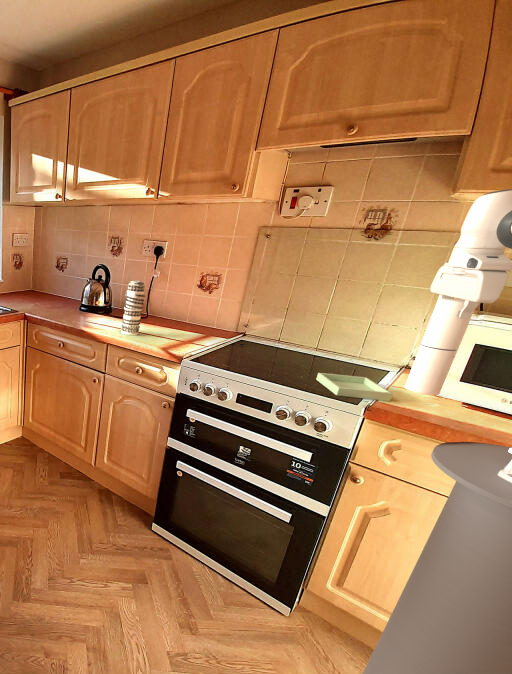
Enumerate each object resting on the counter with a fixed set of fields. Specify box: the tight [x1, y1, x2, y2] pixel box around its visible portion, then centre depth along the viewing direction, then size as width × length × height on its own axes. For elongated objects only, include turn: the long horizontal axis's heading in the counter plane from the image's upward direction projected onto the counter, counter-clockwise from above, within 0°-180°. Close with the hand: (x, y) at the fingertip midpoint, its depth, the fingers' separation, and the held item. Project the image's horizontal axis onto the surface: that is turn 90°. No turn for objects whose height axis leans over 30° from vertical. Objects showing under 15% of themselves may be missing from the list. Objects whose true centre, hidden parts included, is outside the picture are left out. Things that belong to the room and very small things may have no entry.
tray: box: [315, 372, 394, 402], centre depth 140 cm, size 16×15×3 cm
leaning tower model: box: [120, 279, 146, 336], centre depth 203 cm, size 9×9×25 cm
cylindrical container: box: [404, 298, 475, 396], centre depth 114 cm, size 7×7×25 cm
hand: (451, 315), depth 111 cm, fingers closed on cylindrical container, 7 cm apart
